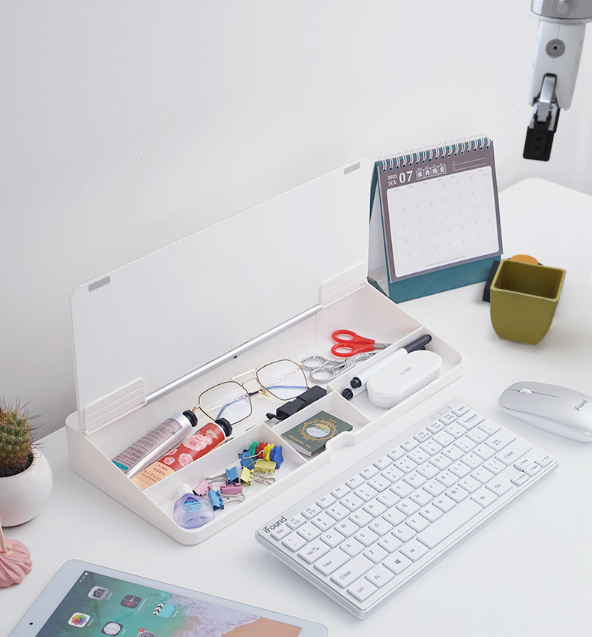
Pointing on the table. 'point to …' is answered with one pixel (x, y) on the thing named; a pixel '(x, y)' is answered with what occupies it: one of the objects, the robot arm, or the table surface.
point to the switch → (491, 280)
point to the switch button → (524, 259)
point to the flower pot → (524, 300)
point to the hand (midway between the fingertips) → (539, 145)
